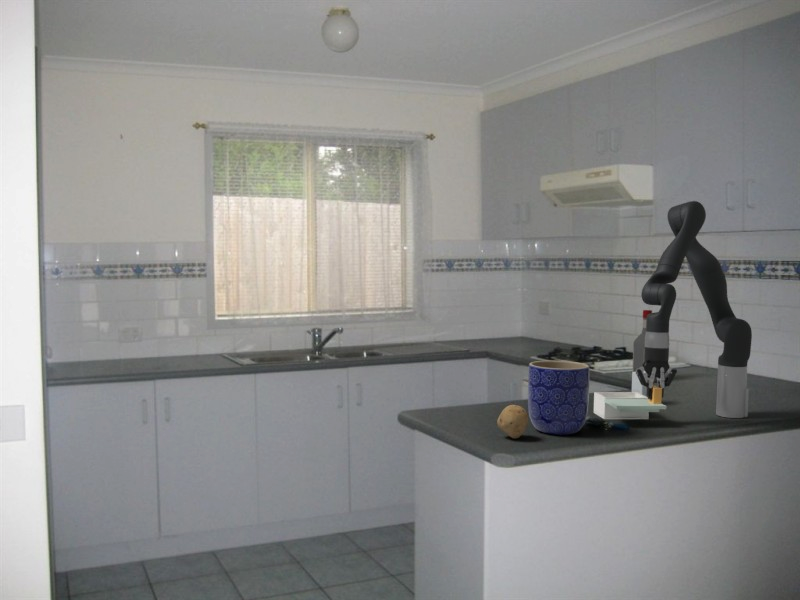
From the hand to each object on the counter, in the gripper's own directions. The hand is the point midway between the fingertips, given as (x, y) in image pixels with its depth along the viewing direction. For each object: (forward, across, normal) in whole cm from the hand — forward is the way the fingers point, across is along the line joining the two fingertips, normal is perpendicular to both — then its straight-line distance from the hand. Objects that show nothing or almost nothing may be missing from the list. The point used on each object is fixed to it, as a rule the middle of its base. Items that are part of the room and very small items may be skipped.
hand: (654, 399), depth 272 cm
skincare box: (+8, -8, -32) cm, 34 cm away
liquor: (+8, -29, -83) cm, 88 cm away
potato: (+8, +50, +19) cm, 54 cm away
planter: (+8, +34, +10) cm, 37 cm away
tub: (+8, +6, -13) cm, 16 cm away
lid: (+3, +6, 0) cm, 7 cm away
